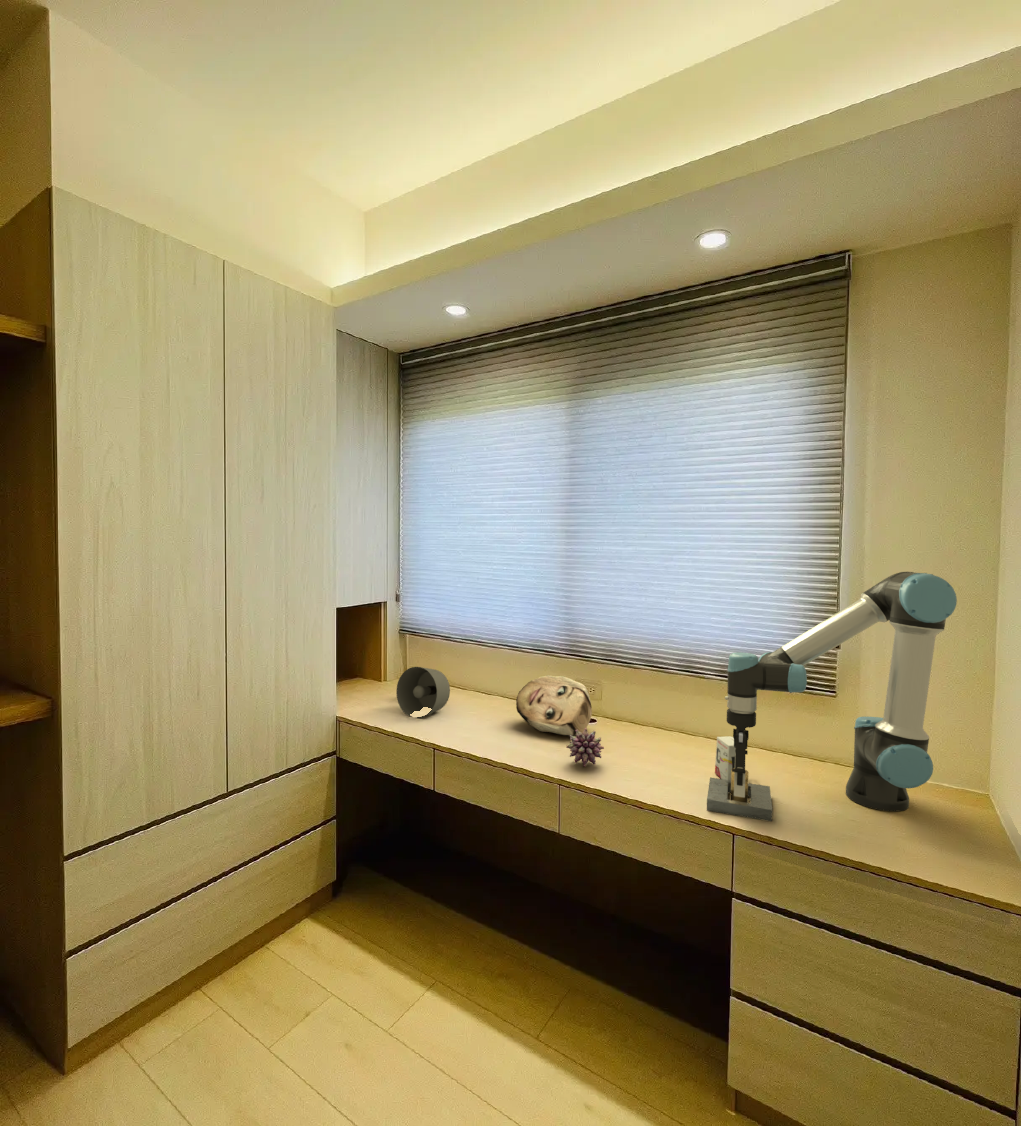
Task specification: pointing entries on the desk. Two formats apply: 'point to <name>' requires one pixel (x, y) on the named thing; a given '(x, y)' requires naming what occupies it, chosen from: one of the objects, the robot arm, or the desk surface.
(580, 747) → the purple spiky ball
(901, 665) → the robot arm
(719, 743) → the ink box
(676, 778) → the desk surface
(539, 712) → the head sculpture
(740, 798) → the cylinder
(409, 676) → the light fixture
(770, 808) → the frame
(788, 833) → the desk surface
